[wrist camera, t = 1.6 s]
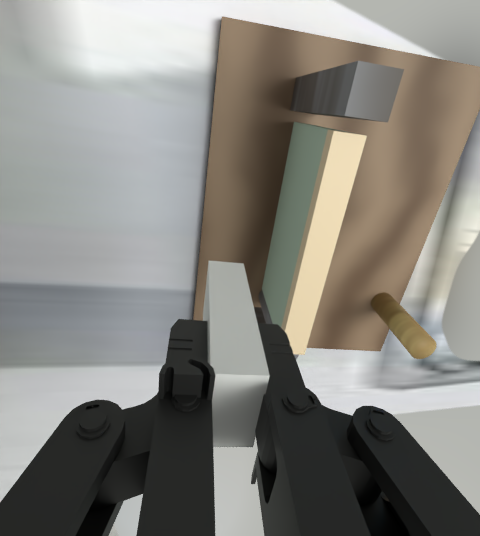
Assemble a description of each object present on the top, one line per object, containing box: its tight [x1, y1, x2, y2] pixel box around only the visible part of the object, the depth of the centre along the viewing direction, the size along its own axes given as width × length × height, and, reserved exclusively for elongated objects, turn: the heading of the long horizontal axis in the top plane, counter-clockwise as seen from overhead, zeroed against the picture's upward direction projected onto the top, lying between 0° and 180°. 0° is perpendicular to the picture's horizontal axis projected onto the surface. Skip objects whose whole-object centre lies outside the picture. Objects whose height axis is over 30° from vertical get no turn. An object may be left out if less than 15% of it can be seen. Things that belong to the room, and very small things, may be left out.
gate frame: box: [193, 17, 480, 359], centre depth 28 cm, size 23×30×13 cm
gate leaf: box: [259, 122, 367, 359], centre depth 27 cm, size 2×18×10 cm, turn 172°
